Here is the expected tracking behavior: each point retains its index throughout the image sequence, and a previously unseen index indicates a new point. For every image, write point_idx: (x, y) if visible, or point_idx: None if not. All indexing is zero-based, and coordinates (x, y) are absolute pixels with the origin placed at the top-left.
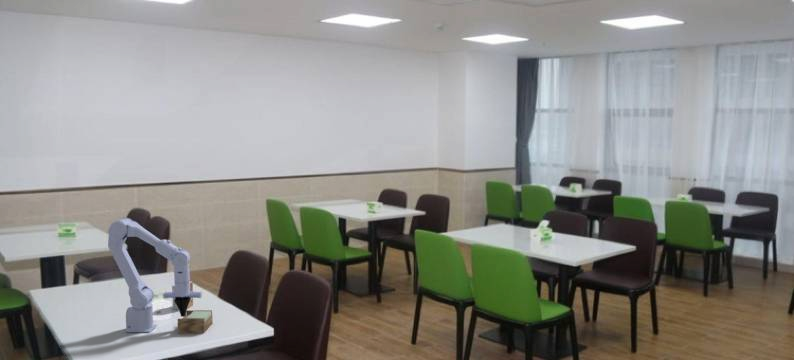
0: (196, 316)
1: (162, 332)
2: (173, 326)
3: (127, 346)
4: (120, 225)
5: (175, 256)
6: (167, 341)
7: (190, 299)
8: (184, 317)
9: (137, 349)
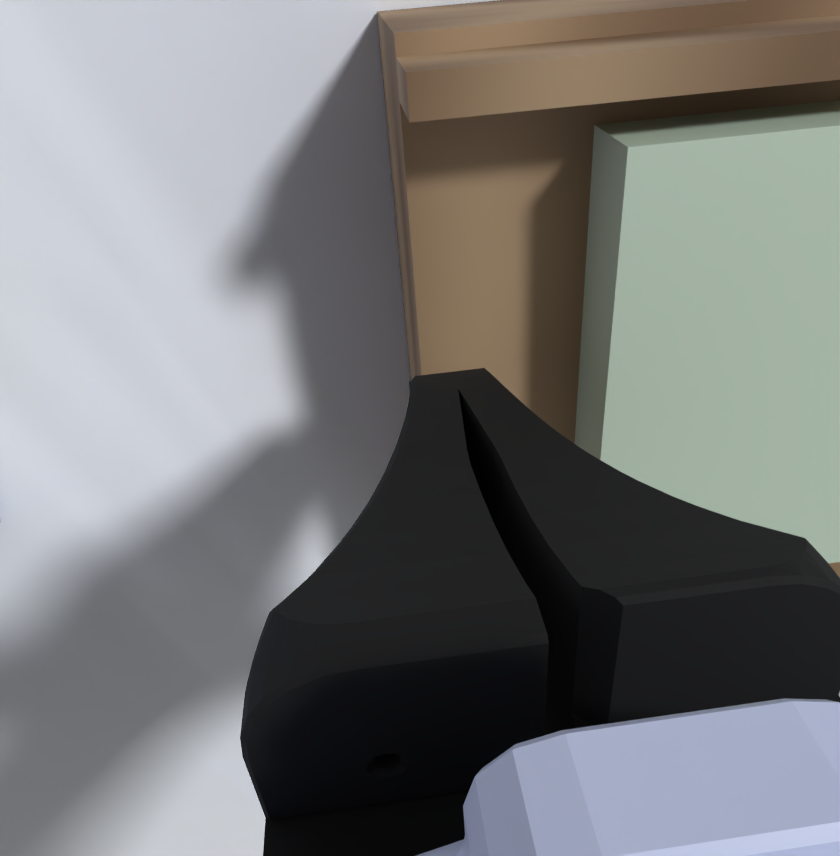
0: (756, 500)
1: (184, 492)
2: (182, 216)
3: (97, 825)
4: None
5: None
6: None
7: (773, 539)
8: (441, 335)
9: (240, 847)
